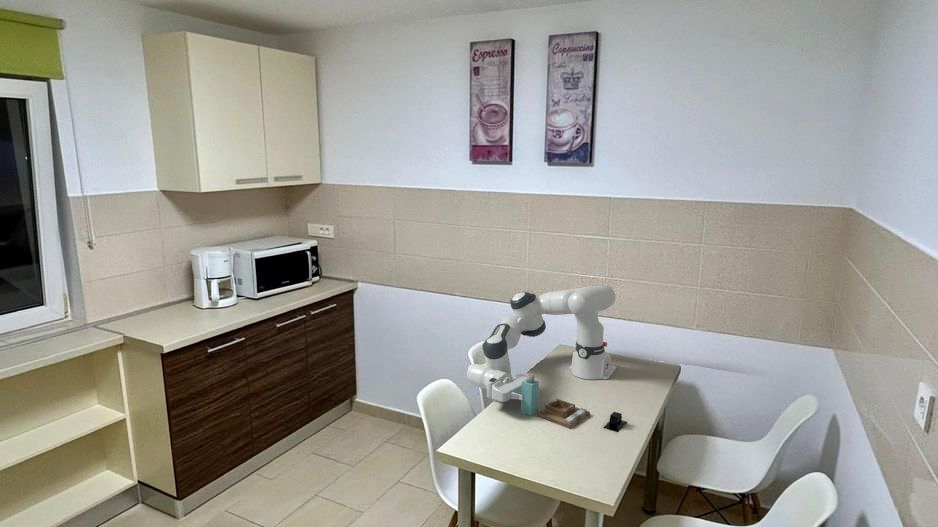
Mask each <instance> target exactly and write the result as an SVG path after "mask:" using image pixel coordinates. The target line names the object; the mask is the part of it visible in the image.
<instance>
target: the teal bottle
mask: <svg viewBox="0 0 938 527" xmlns="http://www.w3.org/2000/svg"><path fill="white" fill-rule="evenodd" d="M534 379H535V375H531V374H527V376H526V380H524V381H522V389H521V394H524V399H523V400H520V413H522V414H525V415H527V416H530V417H531V416H533V415H535V414H537V413H538V412H539V391H540V387H539V386H540V381H539V380H536V379H535V380H534ZM538 390H539V391H538Z"/></svg>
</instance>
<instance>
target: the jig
mask: <svg viewBox="0 0 938 527" xmlns="http://www.w3.org/2000/svg"><path fill="white" fill-rule="evenodd" d="M590 413H591V411H589V410H587V408H586V409H585V408H583V407H581V408H579V407H576V404H574V403H571V402H568V401H565V400H562V399H560V398H555V399H553V400H551V401H550V402H548V403H547V404H545V405H544V408H542V409H541V410H540V411H538V412H537V413H536V417H538V418H541V419H543V420H546V421H548V422H551V423H554V424H557V425H559V426H561V427H564V428H567V429H569V430H570V429H572V428H573V427H575V426H576V425H578V424H579V423H581V422H582V421H584V420H585V419H586V418H588V417H589V416H590V415H591V414H590Z"/></svg>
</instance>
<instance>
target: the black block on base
mask: <svg viewBox="0 0 938 527" xmlns="http://www.w3.org/2000/svg"><path fill="white" fill-rule="evenodd" d="M622 418H623V416H622V413H621V412H617V411H612V413H611V414H610V415H609V421H608V422H607V423H606V424H605V425H603V429H606V430H609V431H613V432H615V433H619V432H620V431H621V430H622V429H623V428H624V427H625V426H626V425H627V424H628V423H627V422H628V421H626V420H623V419H622Z"/></svg>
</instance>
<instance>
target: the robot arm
mask: <svg viewBox="0 0 938 527" xmlns="http://www.w3.org/2000/svg"><path fill="white" fill-rule="evenodd" d="M509 302H510V308H511V309H512V311H513V313H514V315H506V316H504V317H503V318H502V319H501V320H500V322H499V324H497V325H496V326H495V328H493V330H492V333H491V334H490V335H489V337H487V339H485V341H484V342H483V343H482V351H483V355H484V361H485V363H481V364H478V363H471V364H470V365H469V366H468V368H467V372H466V378H467V381H468V382H469V383H470V384H471V385H473V386H475V387H477V388H479V389H482V390H486V398H487V399H491V400H494V401H497V402H500V403H506V402H508V401H510V400H520V401H521V400H523V399H524V394H521V389H522V381H524V380H526V376H527V375H528V374H527V375H526V374H521V373H520V374H516V375H514V376H511V372H512V371H511V370H512V367H511V363H510V362H511V361H510V356H509V355H510V354H509V350H512V349H514V348H516V346H518V344H519V342H520V339H521V335H522V336H525V337H528V338H529V337H530V338H535V337H538V336H540V335H542V334H543V333H545V331H546V329H547V328H546V327H547V325H546V322H545V320H544V317H543V316H542V315H551V316H558V315H559V316H561V315H574V317H575V320H576V324H577V325H576V326H577V332H576V333H577V334H576V341H575V351H573V352H572V360H571V365H569V367H568V369H569V370H570V371H571V373H572V375H573V376H575V377H577V378H579V379H583V380H584V379H585V380H593V381H594V380H608V379H610V378H611V376H612V375H613V374H614V373H615V371H616V370H617V366H616V365H614V364H612V356H611V355H610V354H609V353H608V352H607V351H606V350H605V349H606V347H607V346H608V342H606V341H604V330H605V329H604V325H603V324H602V323H601V322H600V320H599V312H603V311H606V310H607V309H609V308H610V307H612V306H613V305H614V303H615V302H616V293H615V291H614V289H613V288H612V287H611V286H610V285H599V284H598V285H592V286H591V285H590V286H584V287H576V288H570V289H560V290H552V291H548V292H544V293H541V294H540V295H538V296H537V295H536V294H535V293H530V292H528V291H521V292H517V293H516V294H514V295H513V296H512V297H511V299H510V300H509ZM534 380H535V381H536V379H535V378H534ZM538 392H540V389H539V390H538Z"/></svg>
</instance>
